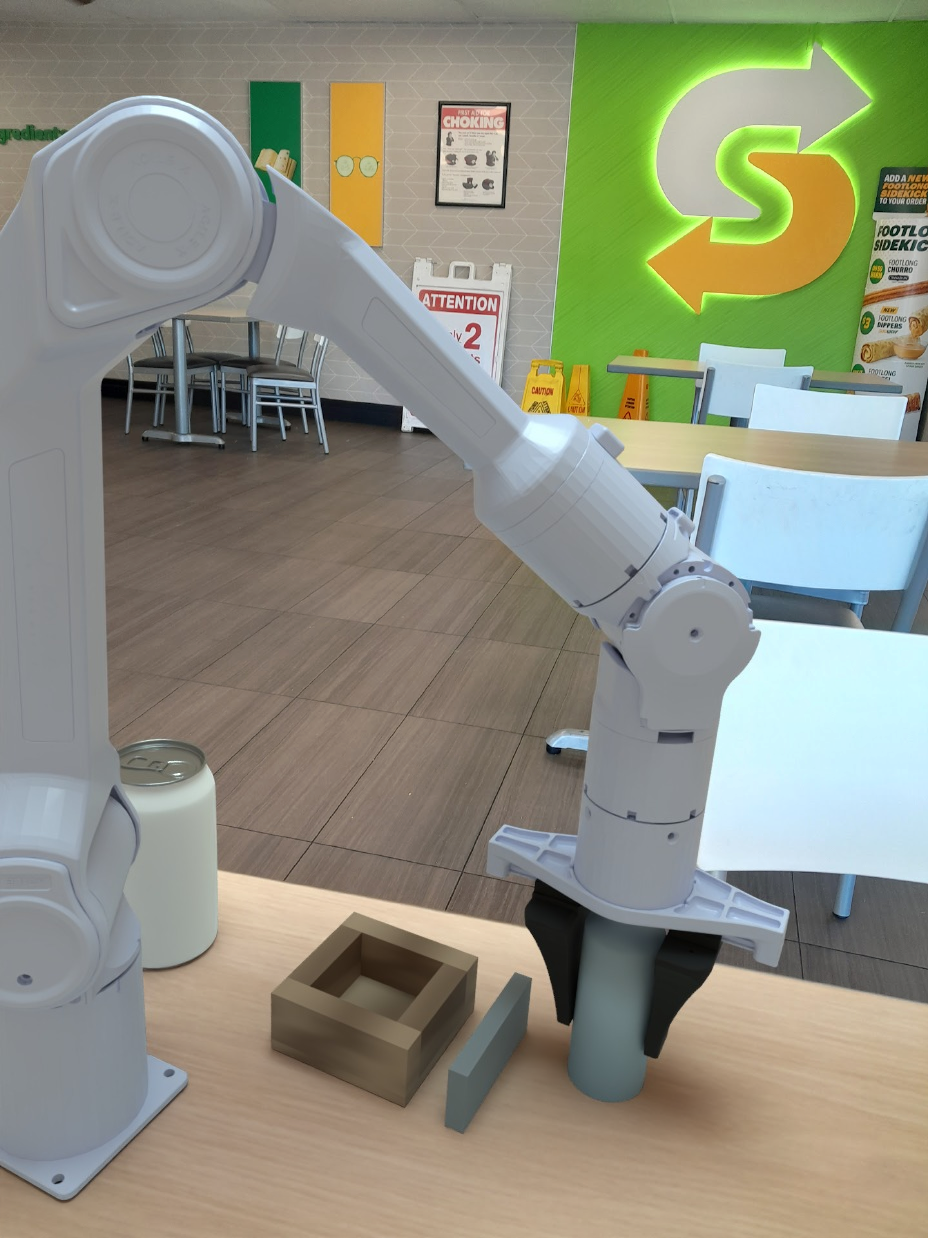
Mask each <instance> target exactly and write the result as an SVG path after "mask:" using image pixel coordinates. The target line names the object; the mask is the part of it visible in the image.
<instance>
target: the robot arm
mask: <svg viewBox="0 0 928 1238" xmlns="http://www.w3.org/2000/svg"><path fill="white" fill-rule="evenodd" d="M265 168H266V172H267V174H268V176H269V180H270V184H271V185H270V187H271V192H272V194H273V195H274V197H275V202H271V201H270V200H269V195H268V193H267V191H266V188H265V186H264V184H263V182H262V180H261V178H260V177H259V175H258V173H257V171H256V169H254V166H253V163H252V161H251V160H250V158H249V157H248V154H247V153H246V151H245V149H244V148H243V146H242V145H241V144H240V142H239V141H238V139H237V138H236V137H235V136H234V134H233V133H232V132H231V131H230V130H229V129H228V128H226V127H225V125H223V123H221V122H220V121H219V120H218V119H216V118H215V117H214V116H212V114H210V113H208V111H205V110H203V109H202V108H200V107H198V106H195V105H194V104H191V103H190V102H186V101H184V100H181V99H178V98H175V97H169V96H163V95H137V96H131V97H126V98H123V99H120V100H118V101H115V102H112V103H111V102H110V103H109V104H108V105H106V106H104V107H102V108H101V109H98V110H97V111H96V112H94V113H93V114H91V115H90V116H89V117H87V118H85V119H84V120H82V121H81V122H80V123H79V124H77V125H75V126H74V127H72V128H71V129H69V130H68V131H66V132H65V133H64V134H62V135H61V136H59V137H58V138H57V139H55V140H53V141H51V142H50V143H48V144H47V145H46V146H44V147H43V148H41V149H40V150H38V151H37V152H36V153H34V154H33V156H32V158H31V160H30V164H29V168H28V169H27V170H28V171H27V174H26V178H25V182H24V186H23V189H22V193H21V195H20V198H19V201H18V202H17V203H16V205H15V207H14V208H13V211H12V212H11V214H10V216H8V218H7V221H6V222H5V224H4V226H2V229H1V230H0V1166H1V1167H2V1168H5V1170H7V1171H10V1172H11V1173H13V1174H15V1175H17V1176H18V1177H20V1178H21V1179H23V1180H25V1181H26V1182H29V1183H30V1184H31V1185H33V1186H35V1187H37V1188H38V1189H40V1190H42V1191H44V1192H46V1193H48V1194H49V1195H51V1196H53V1197H54V1198H56V1199H58V1200H60V1201H66V1200H70V1199H72V1198H73V1197H75V1196H76V1195H77V1194H78V1193H79V1192H81V1190H82V1189H83V1188H85V1186H86V1185H87V1184H88V1183H89V1182H90V1181H91V1180H92V1179H93V1178H94V1177H95V1176H96V1175H98V1173H100V1171H101V1170H102V1169H104V1168H105V1166H106V1165H107V1164H109V1163H110V1161H112V1160H113V1158H114V1157H116V1155H118V1154H119V1152H120V1151H121V1150H123V1148H125V1146H127V1144H128V1143H130V1142H131V1140H133V1139H134V1137H136V1136H137V1135H138V1134H139V1133H140V1132H141V1131H142V1130H143V1128H144V1127H146V1126H147V1124H149V1123H150V1122H151V1121H152V1120H153V1119H154V1118H155V1117H156V1116H157V1115H158V1114H159V1113H160V1112H161V1111H162V1110H163V1109H164V1108H165V1107H166V1106H167V1105H168V1104H169V1103H170V1102H171V1101H172V1100H173V1099H174V1098H175V1097H176V1096H177V1095H178V1094H179V1093H180V1092H181V1091H182V1090H183V1089H184V1088H185V1087H186V1086H187V1084H188V1081H189V1078H188V1073H187V1072H186V1071H185V1070H183V1069H181V1068H179V1067H177V1066H175V1065H173V1064H171V1063H169V1062H167V1061H164V1060H162V1059H160V1058H158V1057H156V1056H154V1055H151V1054H149V1053H148V1050H147V1049H148V1046H147V1027H146V1009H145V1006H146V1005H145V1004H146V1003H145V989H144V987H145V986H144V974H143V973H144V971H143V970H144V969H143V965H142V945H141V929H140V924H139V922H138V919H137V917H136V916H135V914H134V912H133V910H132V909H131V907H130V905H129V903H128V901H127V899H126V897H125V894H124V892H123V889H124V886H125V883H126V879H127V876H128V873H129V869H130V866H131V865H132V864H133V863H134V861H135V859H136V856H137V853H138V851H139V848H140V844H141V839H142V829H141V824H140V819H139V816H138V814H137V811H136V809H135V808H134V806H133V804H132V803H131V801H130V800H129V798H128V797H127V795H126V793H125V791H124V789H123V787H122V783H121V779H120V760H119V754H118V753H117V751H116V750H117V749H116V748H115V747H114V746H113V744H112V743H111V741H110V733H109V731H110V730H109V728H110V727H109V726H110V725H109V687H108V686H109V685H108V652H107V651H108V647H107V646H108V645H107V643H108V642H107V606H106V605H107V603H106V601H107V599H106V598H107V597H106V596H107V595H106V593H107V592H106V560H105V559H106V557H105V556H106V555H105V553H106V552H105V515H104V513H105V511H104V508H105V507H104V474H103V470H104V469H103V465H104V464H103V427H102V426H103V425H102V421H103V420H102V391H101V390H102V381H103V379H104V378H105V377H106V375H107V374H108V373H109V372H111V370H113V368H115V367H116V366H117V365H118V364H119V363H121V362H122V361H124V359H126V358H127V357H128V356H129V355H130V354H132V353H133V352H134V351H136V350H137V348H139V347H140V346H141V345H142V344H143V343H144V342H146V341H147V340H149V338H151V337H152V336H153V335H155V334H156V332H158V331H159V328H160V326H161V325H163V324H164V323H166V322H167V321H171V319H174V318H177V317H178V316H181V315H182V314H185V313H188V312H189V313H190V312H191V311H194V310H198V309H200V308H202V307H203V308H204V307H205V306H207V305H209V304H212V303H214V302H217V301H219V300H221V299H223V298H226V297H227V296H229V295H233V294H235V293H237V292H238V291H240V289H242V288H243V287H245V286H246V285H247V284H248V283H249V282H251V283H253V284H256V285H257V286H256V288H255V291H254V293H253V295H252V298H251V299H250V302H249V304H248V306H247V308H246V311H245V316H247V317H250V318H253V319H256V320H260V321H263V322H268V323H272V324H275V325H279V326H283V327H287V328H291V329H295V330H299V331H303V332H306V333H310V334H313V335H319V336H321V337H324V338H325V339H327V340H329V341H330V342H332V343H333V344H334V345H335V346H337V348H338V349H340V350H341V351H342V352H343V353H344V354H345V355H346V356H347V357H349V358H350V359H351V360H352V361H353V362H354V363H355V364H356V365H357V366H358V367H360V368H361V369H362V370H363V371H364V372H365V373H366V374H368V376H369V377H370V378H372V379H373V380H374V382H376V383H377V384H378V385H379V386H381V388H383V389H384V390H385V391H386V392H387V393H389V394H390V396H391V397H392V398H394V400H396V401H397V402H398V403H399V404H400V405H402V406H403V407H404V408H405V409H406V411H408V412H409V413H411V415H412V416H413V417H415V418H416V419H417V420H418V421H419V422H421V424H422V425H424V426H425V427H426V428H427V429H428V430H429V431H430V432H432V434H433V435H435V436H436V438H438V439H439V440H440V441H441V442H442V443H443V444H444V445H446V446H447V447H448V448H449V449H450V450H451V451H453V452H454V454H456V455H457V456H458V457H459V458H460V459H461V460H462V461H463V462H465V463H466V464H467V465H468V466H469V467H470V469H471V470H472V476H473V511H474V515H475V517H476V519H477V520H478V521H479V522H480V523H481V524H482V525H483V526H484V527H486V529H488V531H490V532H491V533H492V534H493V535H494V536H495V537H496V538H497V539H498V540H500V541H501V542H502V543H503V544H504V545H505V547H507V548H508V549H509V550H510V551H511V552H512V553H513V554H514V555H516V556H517V557H518V558H519V559H520V560H521V561H522V562H523V563H524V564H525V565H526V566H528V568H530V570H532V571H533V572H534V573H535V574H536V575H537V576H538V578H541V580H542V581H544V582H545V584H547V586H548V587H550V588H551V589H552V590H553V591H554V592H555V593H556V594H557V595H558V596H559V597H561V598H562V599H563V600H564V601H565V602H566V604H568V605H569V607H571V608H572V609H573V610H574V611H575V612H577V613H578V614H580V615H582V616H585V617H588V618H589V621H590V622H591V624H592V626H593V627H594V628H595V629H596V630H599V631H602V632H603V634H604V635H606V637H607V638H608V639H609V640H610V642H609V641H602V642H600V649H599V655H598V657H599V658H598V665H597V672H596V683H595V689H594V693H593V696H592V706H591V714H590V722H589V729H588V732H589V733H588V740H587V750H586V755H585V756H586V757H585V758H586V759H585V764H584V765H585V767H584V773H583V774H584V775H583V783H582V792H581V799H580V800H581V801H580V810H579V818H578V827H577V828H578V829H577V835H576V834H575V835H574V834H566V833H557V832H556V833H555V832H547V831H540V830H539V831H538V830H531V829H525V828H522V827H516V826H513V825H509V824H506V823H505V824H503V825H502V826H501V827H499V829H498V831H496V832H495V833H494V835H492V837H491V838H490V839H489V840H488V845H487V847H488V848H487V858H486V859H487V860H486V871H485V873H486V874H488V875H491V876H494V877H497V878H500V879H505V878H507V877H508V876H509V875H510V874H511V875H515V876H519V877H522V878H525V879H527V880H530V881H534V885H533V886H534V887H533V891H532V892H531V893H532V894H531V898H530V899H529V901H528V902H527V904H526V905H525V907H524V925H525V927H526V929H527V930H528V932H529V933H530V935H531V937H532V938H533V939H534V941H535V944H536V945H537V948H538V950H539V952H540V954H541V957H542V960H543V962H544V964H545V966H546V967H545V968H546V970H547V974H548V977H549V981H550V982H549V983H550V986H551V990H552V994H553V1001H554V1006H555V1014H556V1021H557V1023H558V1024H559V1023H560V1024H562V1025H564V1026H567V1027H570V1025H571V1023H573V1015H574V1007H575V999H576V990H577V982H578V974H579V966H580V957H581V949H582V941H583V932H584V924H585V919H586V917H587V915H588V914H589V913H590V912H591V911H593V912H595V913H597V914H598V915H600V916H603V917H605V918H608V919H611V920H614V921H617V922H621V923H625V924H631V925H638V926H647V927H656V928H664V929H665V930H666V929H667V930H668V931H667V932H666V936H665V938H664V941H663V943H662V945H661V947H660V949H659V951H658V953H657V955H656V958H655V964H654V966H655V980H654V997H653V1007H652V1013H651V1017H650V1021H649V1025H648V1029H647V1033H646V1037H645V1042H644V1055H646V1056H648V1058H651V1059H654V1060H656V1059H659V1057H660V1054H661V1052H662V1050H663V1047H664V1046H665V1045H664V1044H665V1041H666V1040H667V1037H668V1034H669V1030H670V1026H671V1024H672V1023H673V1021H674V1019H675V1018H676V1016H677V1015H678V1013H680V1010H681V1009H682V1008H683V1006H684V1005H685V1004H686V1003H687V1001H688V1000H689V999H690V998H691V997H692V996H693V995H694V994H695V993H696V992H697V991H698V990H699V989H700V988H701V987H702V986H703V984H705V982H706V980H708V978H709V976H710V975H711V974H712V972H713V970H714V966H715V964H716V961H717V958H718V956H719V953H720V950H721V949H722V947H723V946H722V945H723V943H725V944H729V945H731V946H734V947H738V948H740V949H741V948H742V949H744V950H746V951H751V952H753V958H752V959H754V960H755V961H756V962H758V963H760V964H762V965H763V964H764V965H765V966H766V965H767V966H770V967H773V968H777V967H778V965H779V961H780V957H781V954H782V950H783V947H784V943H785V937H786V932H787V927H788V924H789V918H790V913H791V912H790V910H789V909H787V908H784V907H780V906H777V905H775V904H772V903H769V902H766V901H764V900H762V899H759V898H757V897H755V896H753V895H751V894H749V893H747V892H745V891H743V890H741V889H740V888H738V887H736V886H734V885H732V884H730V883H728V882H726V881H724V880H722V879H720V878H718V877H716V876H714V875H712V874H711V873H709V872H707V871H704V870H702V869H701V868H698V867H697V863H698V856H699V850H700V844H701V837H702V830H703V825H704V824H703V823H704V820H705V813H706V806H707V800H708V795H709V788H710V781H711V777H712V776H711V774H712V769H713V768H712V767H713V762H714V757H715V756H714V755H715V750H716V743H717V739H718V731H719V726H720V719H721V712H722V707H723V706H722V705H723V700H724V696H725V693H726V691H727V689H728V688H729V686H730V685H731V683H732V682H733V681H734V680H735V679H736V678H737V677H738V676H740V674H742V672H743V671H744V670H745V669H746V667H747V666H748V665H749V663H750V662H751V660H752V659H753V657H754V655H755V654H756V651H757V648H758V646H759V643H760V639H761V636H762V631H761V630H760V629H757V628H756V626H755V625H753V623H754V622H753V621H754V620H753V619H754V611H753V610H752V609H751V608H749V604H750V603H752V601H751V598H750V595H749V593H748V591H747V589H746V587H745V586H744V584H743V583H742V581H740V579H739V578H738V577H737V576H736V575H735V574H733V572H731V571H730V570H729V569H727V568H726V567H725V566H723V565H722V564H720V563H719V562H717V561H716V560H714V559H713V558H712V557H711V556H709V555H708V554H706V552H703V551H702V550H700V549H699V548H698V547H697V546H695V545H694V544H693V543H691V542H690V535H692V534H693V533H694V532H695V530H696V523H695V522H694V521H692V520H691V518H690V517H689V516H688V515H687V514H686V513H684V511H682V510H681V509H679V508H678V507H676V506H673V507H671V508H669V509H668V510H666V509H665V507H663V505H662V504H661V503H660V502H659V501H657V499H656V498H655V497H654V496H653V495H652V494H651V493H650V492H649V491H648V490H647V489H646V487H644V486H643V485H642V484H641V483H640V482H639V481H638V480H637V479H636V478H635V476H633V475H632V474H631V472H630V471H629V470H628V469H627V468H626V467H625V466H624V465H623V464H622V463H621V462H620V461H619V460H618V459H617V458H618V457H619V456H620V455H621V454H622V453H623V452H624V451H625V445H624V443H623V442H622V441H621V440H620V439H619V438H618V437H617V436H616V435H615V434H614V433H613V432H612V431H611V430H610V429H609V427H607V426H605V425H603V424H601V423H599V422H595V423H593V424H592V425H591V426H590V427H589V428H587V427H586V426H585V424H583V422H582V421H580V420H579V418H578V417H576V416H575V415H573V414H570V413H548V414H545V413H544V414H543V413H542V414H533V413H532V414H531V413H530V414H529V413H526V412H525V411H524V410H523V409H521V407H520V406H519V405H518V404H517V403H516V402H515V401H514V400H513V398H511V396H509V394H508V393H507V392H506V391H505V390H504V389H503V388H502V387H501V386H500V385H499V384H498V383H497V382H496V381H495V380H494V378H493V377H492V376H491V375H490V374H489V373H488V372H487V370H486V369H485V368H483V367H482V366H481V364H480V363H479V362H478V361H477V360H476V359H475V358H474V357H473V356H472V355H471V354H470V353H469V351H468V350H467V349H466V348H465V347H464V346H463V345H462V344H461V343H460V342H459V340H457V338H456V337H455V336H453V334H452V333H451V332H450V331H449V330H448V329H447V328H446V327H445V325H443V323H441V321H440V320H439V319H438V318H437V317H436V316H435V315H434V314H433V312H431V311H430V310H429V308H428V307H427V306H426V305H425V304H424V303H423V302H422V301H421V300H420V299H419V298H418V296H417V295H416V294H414V293H413V291H412V290H411V289H410V288H409V287H408V286H407V285H406V283H404V281H402V280H401V278H400V277H399V276H398V275H397V274H396V273H395V272H394V271H393V270H392V269H391V268H390V267H389V265H387V263H386V262H385V261H384V260H383V259H382V258H381V257H380V256H379V255H378V254H377V253H376V252H375V250H373V249H372V246H370V245H369V244H368V243H367V242H366V241H365V240H364V239H363V238H362V237H361V236H360V235H359V234H358V233H357V232H355V231H354V230H353V229H352V228H350V227H349V226H348V225H347V224H345V222H343V221H342V220H341V219H340V218H338V217H337V216H335V215H334V214H333V213H332V212H330V210H328V209H327V208H326V207H324V206H323V205H322V204H321V203H320V202H319V201H317V200H316V199H314V198H313V197H312V196H311V195H309V194H308V193H307V191H305V190H303V189H302V188H301V187H300V186H299V185H297V184H295V183H294V182H293V181H291V180H290V179H289V178H287V177H286V176H284V175H283V174H282V173H281V172H280V171H278V170H276V169H275V168H274V167H272V166H271V165H269V164H268V163H267V164H265ZM60 1181H61V1182H60ZM57 1182H60V1183H57Z"/></svg>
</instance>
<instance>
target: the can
mask: <svg viewBox="0 0 928 1238" xmlns="http://www.w3.org/2000/svg"><path fill="white" fill-rule="evenodd" d="M116 751H117V753H118V754H119V760H120V779H121V783H122V787H123V789H124V791H125V793H126V795H127V797H128V798H129V800H130V801H131V803H132V804H133V806H134V808H135V809H136V811H137V814H138V816H139V819H140V824H141V829H142V839H141V844H140V848H139V851H138V853H137V856H136V859H135V861H134V863H133V864H132V865H131V866H130V869H129V873H128V876H127V879H126V883H125V886H124V889H123V892H124V894H125V897H126V899H127V901H128V903H129V905H130V907H131V909H132V910H133V912H134V914H135V916H136V917H137V919H138V922H139V924H140V929H141V945H142V965H143V970H165V969H171V968H175V967H178V966H179V967H180V966H182V965H184V964H187V963H189V962H191V961H193V960H195V959H197V958H199V956H201V955H202V954H203V953H204V952H205V951H207V950H208V949H209V948H210V947H211V946H212V945H213V943H214V941H215V939H216V937H217V934H218V931H219V930H218V929H219V899H218V898H219V894H218V893H219V891H218V890H219V887H218V886H219V883H218V882H219V880H218V876H219V875H218V844H217V843H218V841H217V839H218V837H217V836H218V835H217V830H218V829H217V802H216V801H217V800H216V799H217V798H216V795H217V794H216V783H215V778H214V775H213V772H212V771H211V769H210V767H209V766H208V764H207V762H208V756H207V753H206V752H205V750H204V749H203V748H201V747H200V746H199V745H197V744H195V743H192V742H189V741H187V740H182V739H177V738H175V739H174V738H153V739H145V740H139V741H135V742H132V743H129V744H125V745H123V746H121V747H118V748H117V749H116Z"/></svg>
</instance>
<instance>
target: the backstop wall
mask: <svg viewBox="0 0 928 1238" xmlns="http://www.w3.org/2000/svg"><path fill="white" fill-rule="evenodd" d="M532 982H533V978H532V977H530V976H527V975H524V974H522V973H519V972H515V971H514V973H513V974H512V975H511V977H510V978H509V980H508V982H507V983H506V984H505V986H504V987H503V989H502V990H501V992H500V993H499V995H497V997H496V998H495V1001H494V1002H493V1003H492V1004H491V1006H490V1008H489V1009H488V1010H487V1012H486V1013H485V1015H484V1016H483V1018H482V1019H481V1021H480V1022H479V1024H478V1025H477V1026H476V1027H475V1029H474V1031H473V1033H472V1034H471V1035H470V1037H469V1039H468V1040H467V1042H466V1043H465V1044H464V1046H463V1047H462V1048H461V1050H460V1052H459V1053H458V1054H457V1056H456V1058H455V1059H454V1061H453V1062H452V1063H451V1065H449V1068H448V1072H447V1083H446V1084H447V1086H446V1087H447V1088H446V1099H445V1113H444V1114H445V1116H444V1124H443V1125H444V1127H446V1128H449V1129H451V1130H453V1131H455V1132H457V1133H459V1134H462V1135H464V1133H465V1132H466V1130H467V1128H468V1127H469V1126H470V1123H471V1122H472V1120H473V1118H474V1117H475V1116H476V1114H477V1112H479V1109H480V1107H481V1106H482V1104H483V1102H484V1101H485V1099H486V1097H487V1096H488V1094H489V1093H490V1091H491V1089H492V1088H493V1087H494V1084H495V1082H496V1081H497V1080H498V1078H499V1077H500V1074H501V1073H502V1071H503V1070H504V1068H505V1066H506V1065H507V1064H508V1061H509V1060H510V1059H511V1057H512V1055H513V1054H514V1052H515V1051H516V1048H517V1047H518V1045H519V1044H520V1042H521V1040H522V1038H523V1037H524V1035H526V1034H525V1033H526V1032H527V1030H528V1023H529V1022H528V1021H529V1012H530V1002H531V991H532V984H533V983H532Z"/></svg>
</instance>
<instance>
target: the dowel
mask: <svg viewBox="0 0 928 1238" xmlns="http://www.w3.org/2000/svg"><path fill="white" fill-rule="evenodd" d="M666 935H667V931H666V929H664V928H656V927H647V926H638V925H631V924H625V923H621V922H617V921H614V920H611V919H608V918H605V917H603V916H600V915H598V914H597V913H595V912H593V911H591V912H590V913H589V914H588V915H587V917H586V919H585V924H584V932H583V941H582V949H581V957H580V966H579V974H578V982H577V990H576V999H575V1007H574V1015H573V1020H572V1025H571V1032H570V1042H569V1049H568V1057H567V1068H566V1069H567V1074H568V1077H569V1079H570V1081H571V1083H572V1084H573V1086H574V1087H576V1089H577V1090H578V1091H580V1092H581V1093H582V1094H584V1095H585V1096H587V1097H589V1098H591V1099H593V1100H596V1101H600V1102H603V1103H609V1104H611V1103H622V1102H623V1103H624V1102H627V1101H630V1100H631V1099H633V1098H635V1097H636V1096H638V1095H639V1093H641V1091H642V1089H643V1087H644V1085H645V1080H646V1079H645V1078H646V1072H647V1066H648V1059H649V1057H648V1056H646V1055H644V1042H645V1037H646V1033H647V1029H648V1025H649V1021H650V1017H651V1013H652V1007H653V997H654V980H655V966H654V964H655V958H656V955H657V953H658V951H659V949H660V947H661V945H662V943H663V941H664V938H665V936H666Z"/></svg>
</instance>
